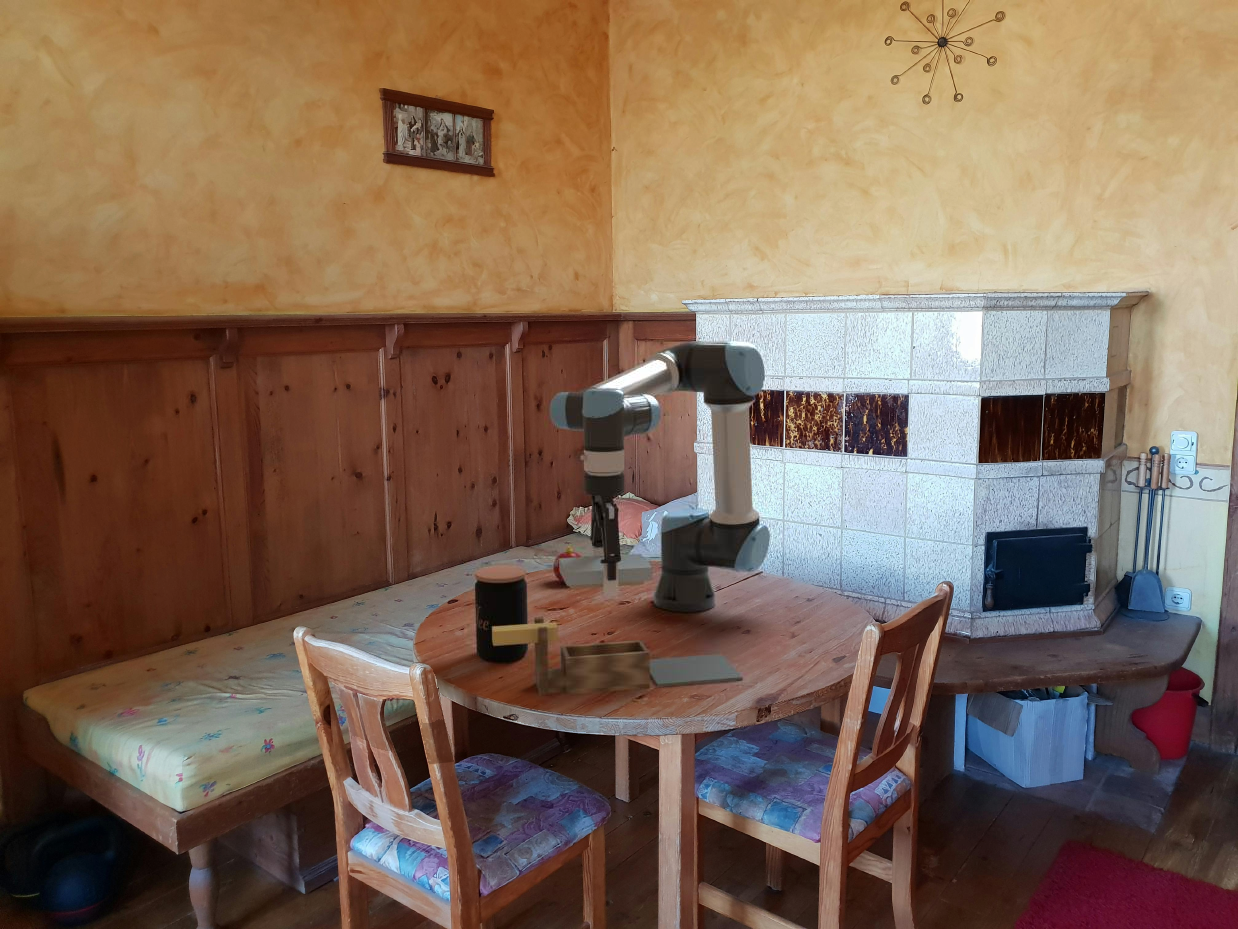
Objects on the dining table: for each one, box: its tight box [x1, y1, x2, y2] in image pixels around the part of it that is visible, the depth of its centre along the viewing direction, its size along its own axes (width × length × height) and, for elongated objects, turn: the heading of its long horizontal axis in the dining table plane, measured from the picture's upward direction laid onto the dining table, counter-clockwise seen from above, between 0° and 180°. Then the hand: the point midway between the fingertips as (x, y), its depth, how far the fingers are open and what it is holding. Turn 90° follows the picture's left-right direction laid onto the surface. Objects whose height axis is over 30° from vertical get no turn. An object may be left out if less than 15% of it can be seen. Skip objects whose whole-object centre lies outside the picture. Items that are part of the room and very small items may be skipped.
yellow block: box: [492, 621, 559, 646], centre depth 174 cm, size 12×3×3 cm, turn 102°
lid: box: [559, 553, 654, 590], centre depth 176 cm, size 16×10×4 cm, turn 102°
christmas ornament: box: [552, 546, 582, 584], centre depth 248 cm, size 9×9×10 cm
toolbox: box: [533, 617, 651, 698], centre depth 177 cm, size 21×7×13 cm, turn 102°
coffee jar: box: [474, 564, 529, 664], centre depth 193 cm, size 11×11×18 cm
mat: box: [650, 653, 744, 688], centre depth 185 cm, size 17×13×1 cm
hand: (605, 588), depth 176 cm, fingers closed on lid, 10 cm apart
